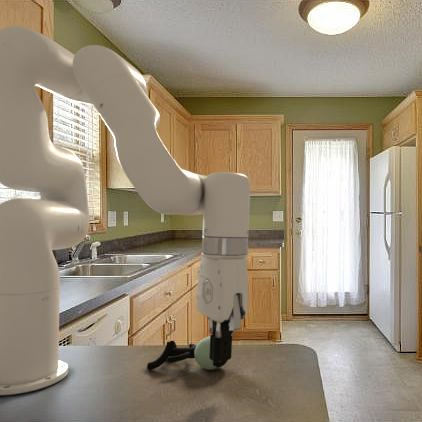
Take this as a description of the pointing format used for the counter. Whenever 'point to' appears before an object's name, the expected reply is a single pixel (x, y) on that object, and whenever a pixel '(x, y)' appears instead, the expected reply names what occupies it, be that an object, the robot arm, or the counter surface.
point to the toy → (187, 355)
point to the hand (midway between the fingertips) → (220, 359)
